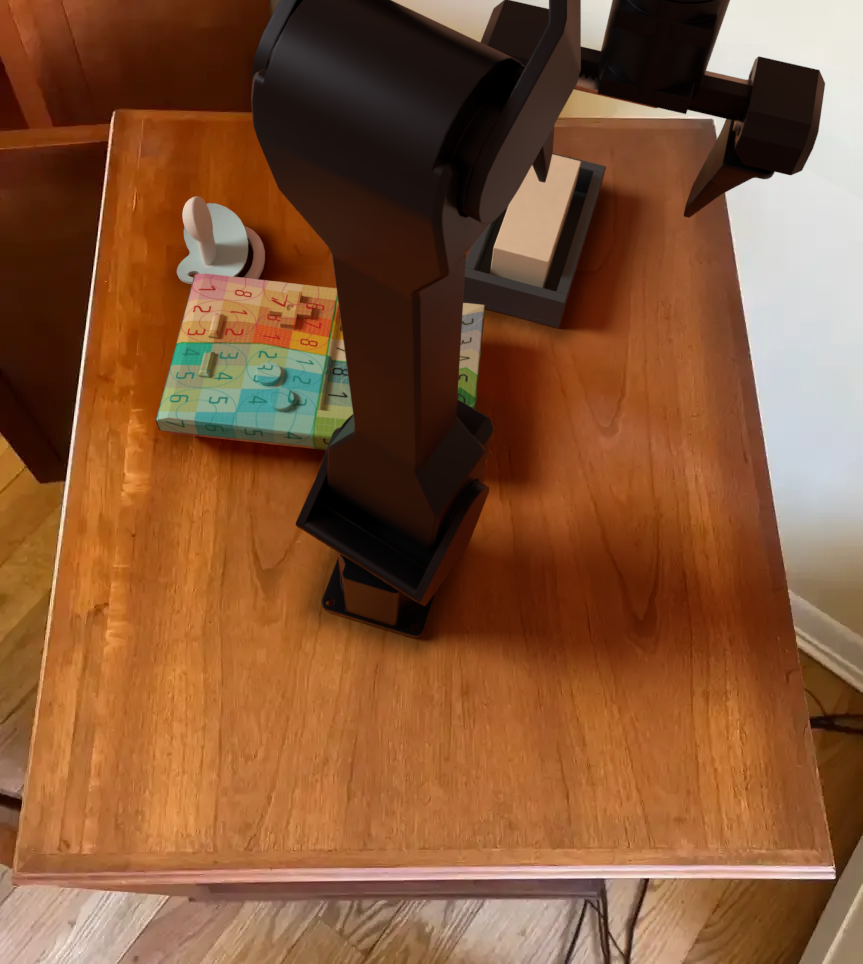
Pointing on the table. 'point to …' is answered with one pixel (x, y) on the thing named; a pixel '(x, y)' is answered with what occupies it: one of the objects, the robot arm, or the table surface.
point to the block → (535, 224)
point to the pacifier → (217, 242)
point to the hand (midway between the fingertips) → (615, 194)
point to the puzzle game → (273, 363)
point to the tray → (552, 298)
